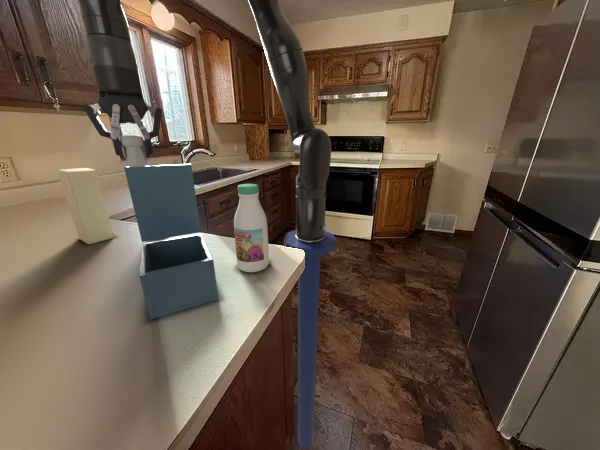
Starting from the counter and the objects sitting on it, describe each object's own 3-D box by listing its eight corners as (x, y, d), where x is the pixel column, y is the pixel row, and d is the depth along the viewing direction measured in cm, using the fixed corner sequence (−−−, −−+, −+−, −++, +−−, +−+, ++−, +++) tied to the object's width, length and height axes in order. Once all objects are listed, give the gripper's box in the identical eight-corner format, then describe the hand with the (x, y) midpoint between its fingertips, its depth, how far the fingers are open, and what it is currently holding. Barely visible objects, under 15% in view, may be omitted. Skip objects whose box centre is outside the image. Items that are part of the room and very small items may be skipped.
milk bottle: (248, 255, 65) (242, 181, 58) (274, 260, 63) (271, 183, 56) (231, 269, 58) (222, 187, 52) (259, 275, 56) (254, 189, 49)
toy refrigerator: (117, 236, 77) (99, 169, 70) (88, 244, 71) (65, 172, 64) (106, 231, 81) (88, 167, 74) (78, 238, 75) (56, 169, 68)
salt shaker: (147, 190, 61) (135, 134, 56) (164, 192, 59) (153, 134, 54) (123, 195, 55) (108, 134, 51) (141, 197, 53) (127, 134, 49)
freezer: (218, 299, 48) (213, 259, 45) (150, 319, 42) (139, 276, 39) (205, 266, 60) (200, 233, 57) (151, 279, 54) (142, 243, 51)
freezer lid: (191, 164, 50) (188, 160, 55) (123, 167, 45) (126, 163, 49) (200, 232, 56) (197, 224, 61) (141, 242, 51) (142, 232, 55)
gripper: (157, 76, 55) (170, 155, 61) (74, 68, 48) (99, 157, 54) (157, 68, 49) (172, 157, 54) (62, 58, 42) (92, 160, 48)
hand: (136, 157), depth 54 cm, fingers closed on salt shaker, 4 cm apart
